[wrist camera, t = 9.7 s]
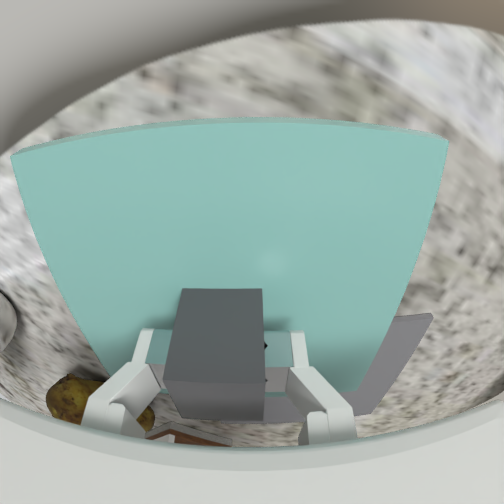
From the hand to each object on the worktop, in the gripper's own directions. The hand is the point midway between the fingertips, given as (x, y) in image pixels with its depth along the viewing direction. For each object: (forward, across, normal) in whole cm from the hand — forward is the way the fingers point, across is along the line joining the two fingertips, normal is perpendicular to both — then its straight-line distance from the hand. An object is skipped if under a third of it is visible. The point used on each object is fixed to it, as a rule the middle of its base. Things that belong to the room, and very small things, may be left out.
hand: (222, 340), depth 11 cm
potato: (+9, +16, +21) cm, 28 cm away
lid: (+2, 0, 0) cm, 2 cm away
